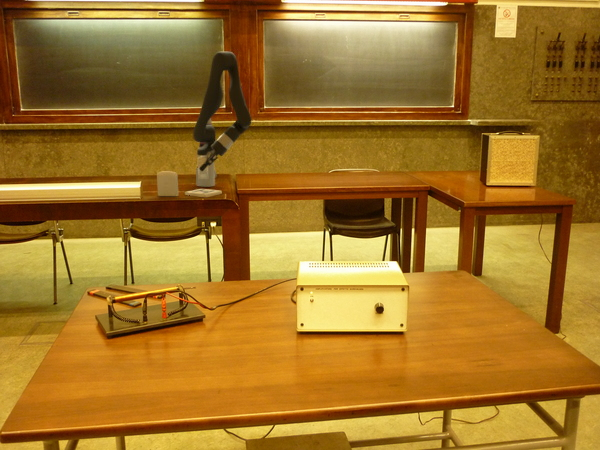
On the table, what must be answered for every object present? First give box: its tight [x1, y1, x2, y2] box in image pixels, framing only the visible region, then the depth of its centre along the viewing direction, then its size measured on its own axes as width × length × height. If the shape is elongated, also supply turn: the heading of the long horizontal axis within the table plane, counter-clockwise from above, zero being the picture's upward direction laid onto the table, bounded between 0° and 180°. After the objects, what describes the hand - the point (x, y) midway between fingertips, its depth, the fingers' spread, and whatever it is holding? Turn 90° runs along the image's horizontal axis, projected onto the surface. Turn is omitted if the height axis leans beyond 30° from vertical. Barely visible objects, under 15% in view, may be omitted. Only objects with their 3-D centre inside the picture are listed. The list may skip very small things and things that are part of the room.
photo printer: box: [156, 170, 179, 197], centre depth 287 cm, size 10×4×12 cm, turn 86°
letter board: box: [184, 188, 223, 198], centre depth 294 cm, size 13×13×2 cm
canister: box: [197, 156, 208, 179], centre depth 291 cm, size 5×5×11 cm
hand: (199, 169), depth 291 cm, fingers closed on canister, 5 cm apart
